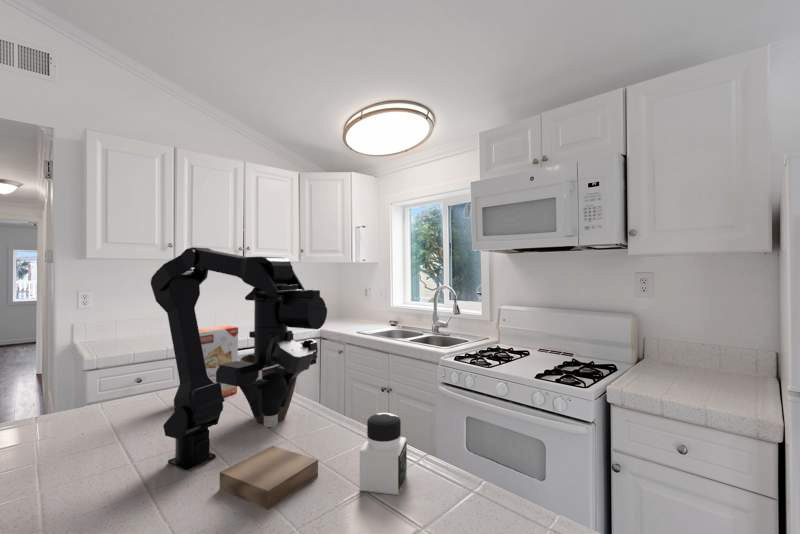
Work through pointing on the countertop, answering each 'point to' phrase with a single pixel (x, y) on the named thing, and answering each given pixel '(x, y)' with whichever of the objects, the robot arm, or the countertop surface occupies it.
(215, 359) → the cracker box
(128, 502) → the countertop surface
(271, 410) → the light bulb
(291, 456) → the walnut base
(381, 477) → the medicine bottle
